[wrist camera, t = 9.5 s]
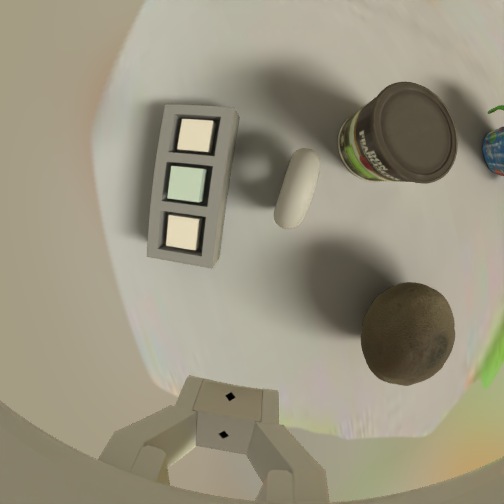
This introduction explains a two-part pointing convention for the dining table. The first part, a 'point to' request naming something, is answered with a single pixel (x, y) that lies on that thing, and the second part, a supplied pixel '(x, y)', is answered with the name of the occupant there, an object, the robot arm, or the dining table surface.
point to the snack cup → (495, 148)
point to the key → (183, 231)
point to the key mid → (186, 183)
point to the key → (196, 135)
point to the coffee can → (400, 137)
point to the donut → (297, 188)
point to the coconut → (407, 333)
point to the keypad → (214, 187)
